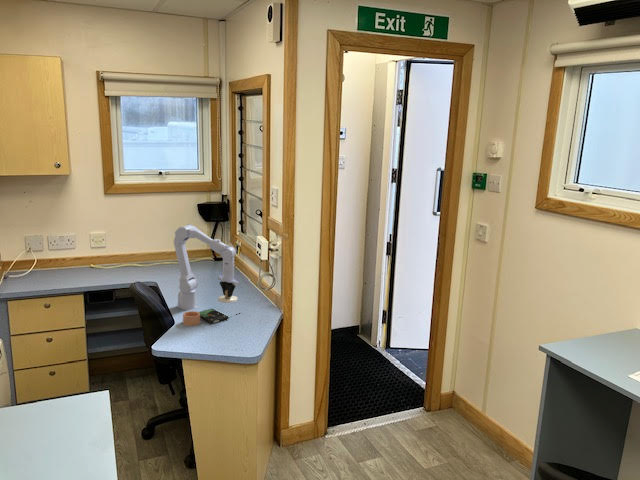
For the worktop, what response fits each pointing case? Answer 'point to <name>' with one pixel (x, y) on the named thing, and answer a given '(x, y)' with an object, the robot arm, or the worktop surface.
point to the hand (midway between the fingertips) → (227, 295)
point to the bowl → (191, 318)
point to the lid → (227, 298)
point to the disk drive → (212, 316)
